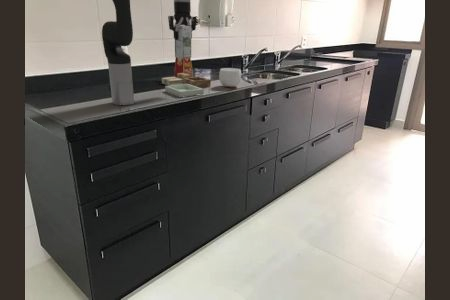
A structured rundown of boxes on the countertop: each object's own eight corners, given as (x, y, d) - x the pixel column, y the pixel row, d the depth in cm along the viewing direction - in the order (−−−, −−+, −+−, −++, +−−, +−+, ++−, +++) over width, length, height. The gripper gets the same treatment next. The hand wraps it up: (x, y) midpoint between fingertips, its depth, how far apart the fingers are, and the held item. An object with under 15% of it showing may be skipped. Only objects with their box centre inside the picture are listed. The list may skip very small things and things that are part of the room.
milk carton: (194, 79, 196) (193, 45, 188) (182, 81, 190) (181, 46, 182) (184, 77, 202) (183, 44, 194) (173, 79, 196) (171, 45, 188)
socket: (210, 86, 177) (210, 79, 175) (193, 88, 170) (193, 81, 169) (199, 83, 185) (199, 76, 183) (183, 85, 178) (183, 78, 177)
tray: (203, 94, 158) (203, 89, 157) (180, 97, 151) (180, 91, 150) (187, 88, 170) (187, 83, 169) (165, 91, 162) (165, 86, 161)
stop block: (190, 83, 184) (190, 74, 182) (184, 84, 181) (184, 75, 179) (183, 81, 189) (183, 72, 188) (177, 81, 187) (177, 73, 185)
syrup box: (183, 56, 157) (182, 25, 152) (191, 57, 154) (191, 25, 148) (174, 57, 153) (173, 25, 147) (183, 58, 150) (182, 25, 144)
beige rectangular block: (183, 85, 180) (182, 79, 178) (170, 87, 175) (170, 80, 174) (174, 82, 187) (173, 76, 185) (162, 84, 182) (161, 77, 181)
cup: (245, 87, 178) (246, 69, 175) (230, 90, 170) (231, 72, 166) (229, 83, 186) (229, 67, 182) (214, 86, 177) (214, 69, 174)
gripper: (171, 0, 137) (173, 40, 144) (199, 2, 145) (199, 40, 152) (164, 0, 143) (165, 39, 149) (191, 2, 151) (191, 39, 157)
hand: (182, 39), depth 150 cm, fingers closed on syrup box, 6 cm apart
